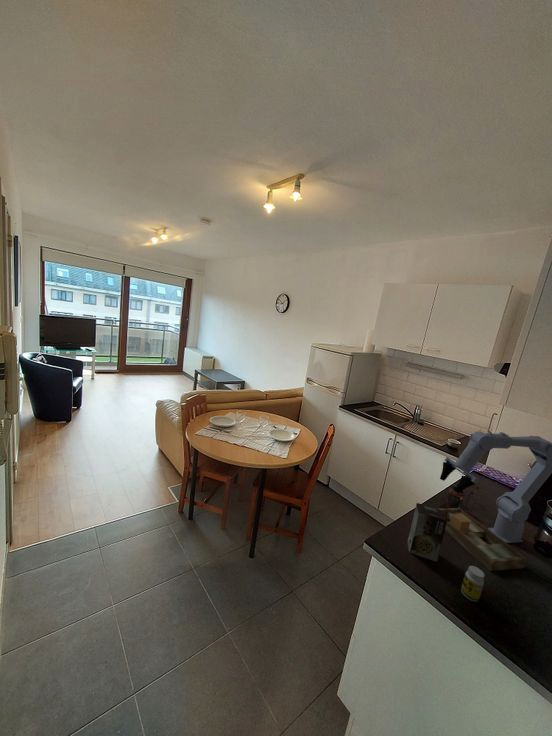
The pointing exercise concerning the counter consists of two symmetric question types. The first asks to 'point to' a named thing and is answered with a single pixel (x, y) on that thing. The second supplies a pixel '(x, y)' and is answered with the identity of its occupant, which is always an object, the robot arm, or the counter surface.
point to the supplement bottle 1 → (454, 498)
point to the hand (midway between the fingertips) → (448, 485)
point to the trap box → (484, 544)
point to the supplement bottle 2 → (473, 583)
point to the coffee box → (427, 532)
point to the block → (460, 522)
